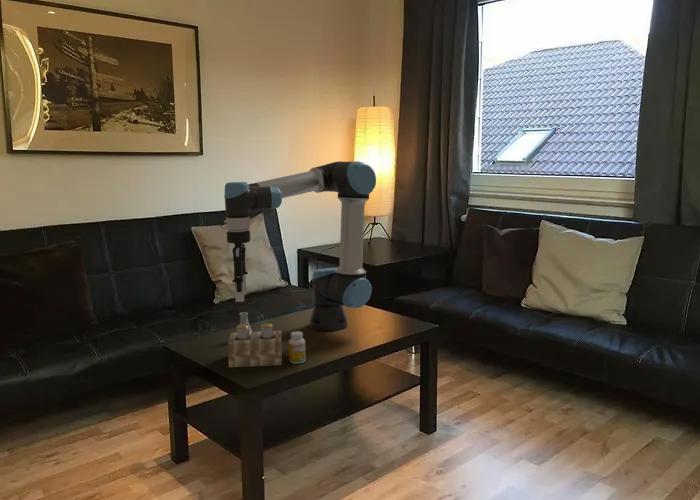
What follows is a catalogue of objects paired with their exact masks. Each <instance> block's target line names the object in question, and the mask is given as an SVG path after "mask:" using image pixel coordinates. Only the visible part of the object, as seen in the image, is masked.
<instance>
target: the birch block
mask: <svg viewBox="0 0 700 500" xmlns="http://www.w3.org/2000/svg"><path fill="white" fill-rule="evenodd" d="M227 357H228V358H227V359H228V368H240V367H241V368H242V367H264V366H266V367H267V366H282V363H283V360H282V359H283V346H282V330H273V338H272V339H261V331H252V332H249V340H237V332H231V333H230V336H229V338H228V341H227Z"/></svg>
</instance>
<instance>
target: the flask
mask: <svg viewBox="0 0 700 500" xmlns="http://www.w3.org/2000/svg"><path fill="white" fill-rule="evenodd" d="M248 315H249V312H245V311H243V312H240V313H239V317H240V320H239V325H240V324H247V325H249V332H253V330H252V327H251V326H250V323H249V319H248Z"/></svg>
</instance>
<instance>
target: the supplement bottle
mask: <svg viewBox="0 0 700 500" xmlns="http://www.w3.org/2000/svg"><path fill="white" fill-rule="evenodd" d="M303 336H304V333H303V331H296V330H295V331H292V332H290V339H288V357H289V360H288V361H289V363H291V364H296V365H297V364H302V363H304V362H306V361H307V360H306V357H307V356H306V340H305V339H304V338H303Z"/></svg>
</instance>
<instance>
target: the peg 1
mask: <svg viewBox="0 0 700 500" xmlns="http://www.w3.org/2000/svg"><path fill="white" fill-rule="evenodd" d="M249 325H250V324H249ZM249 325H247V324H240V323H239V324H237V325H236V333H237V340H249Z"/></svg>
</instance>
